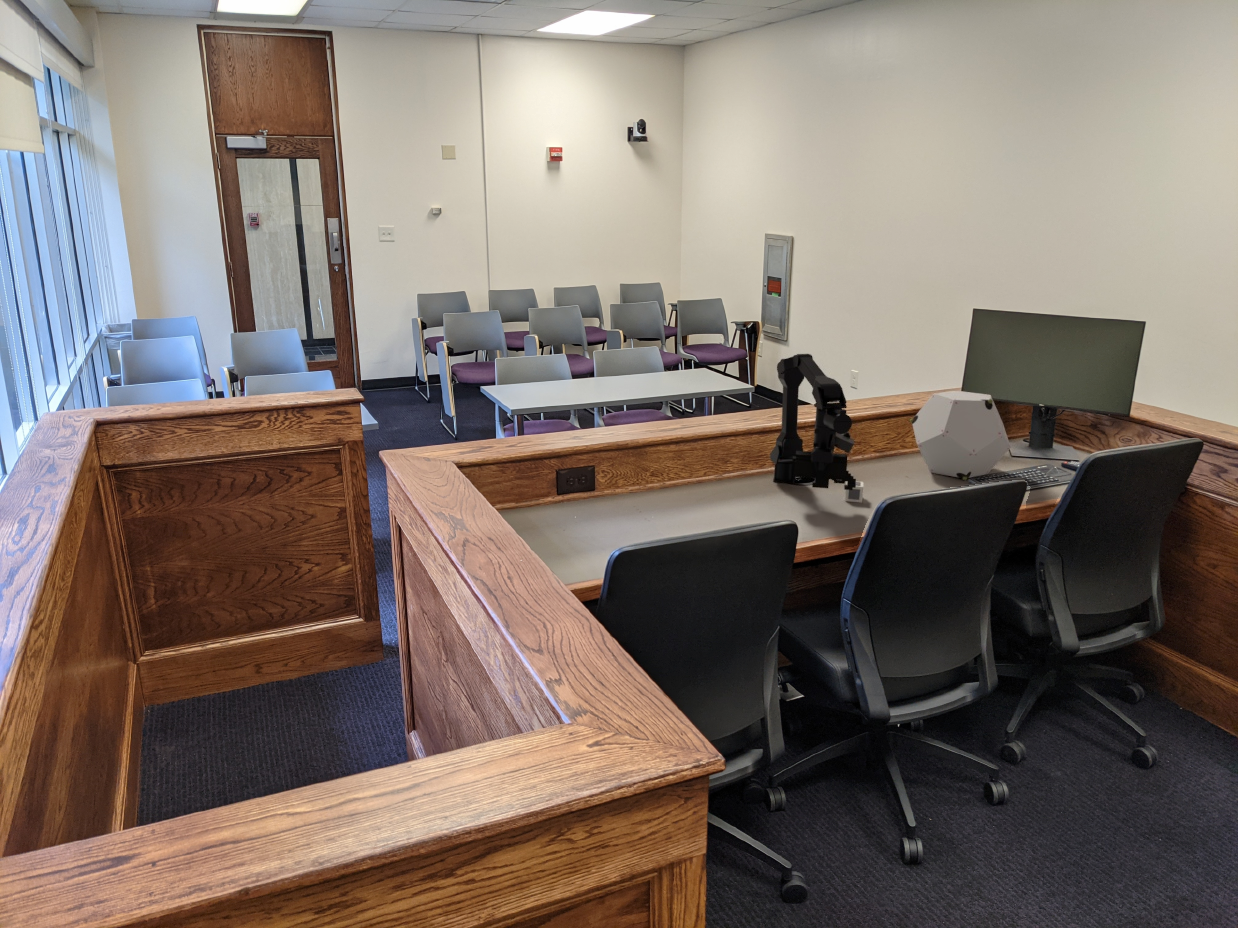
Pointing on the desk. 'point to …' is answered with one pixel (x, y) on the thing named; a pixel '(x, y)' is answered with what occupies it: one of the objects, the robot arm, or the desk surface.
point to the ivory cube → (855, 493)
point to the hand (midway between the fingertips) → (821, 476)
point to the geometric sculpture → (960, 434)
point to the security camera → (833, 470)
